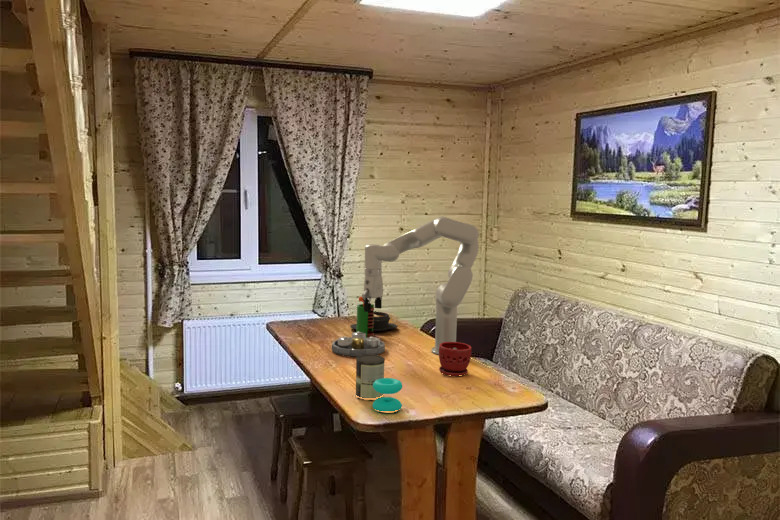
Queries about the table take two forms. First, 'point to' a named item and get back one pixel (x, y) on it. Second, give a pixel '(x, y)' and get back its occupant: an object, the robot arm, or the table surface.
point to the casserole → (380, 322)
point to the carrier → (355, 346)
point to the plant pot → (454, 358)
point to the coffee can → (368, 375)
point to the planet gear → (371, 343)
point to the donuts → (387, 388)
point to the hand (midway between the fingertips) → (372, 309)
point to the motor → (365, 320)
